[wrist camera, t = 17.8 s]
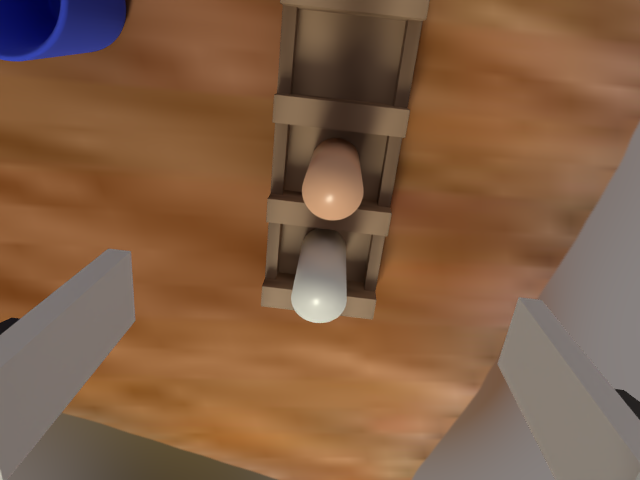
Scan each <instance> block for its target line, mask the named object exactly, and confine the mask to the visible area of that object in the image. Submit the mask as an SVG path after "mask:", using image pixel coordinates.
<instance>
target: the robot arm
mask: <svg viewBox="0 0 640 480" xmlns="http://www.w3.org/2000/svg"><path fill="white" fill-rule="evenodd" d="M134 322H135V309H134V293H133V278H132V262H131V251H124V250H115V249H107V250H106V251H105V252H104V253H102V254H101V255H100V256H99V257H97V258H96V259H95V260H94V261H92V262H91V263H90V264H89V265H87V266H86V267H85V268H83V269H82V270H81V271H80V272H78V273H77V274H76V275H75V276H73V277H72V278H71V279H70V280H68V281H67V282H66V283H65V284H63V285H62V286H61V287H60V288H58V289H57V290H56V291H55V292H53V293H52V294H51V295H50V296H48V297H47V298H46V299H45V300H43V301H42V302H41V303H40V304H38V305H37V306H36V307H35V308H33V309H32V310H31V311H30V312H28V313H27V314H26V315H25V316H23V317H22V318H21V319H18V318H10V319H8V320H6V321H3V322H1V323H0V480H8V478H9V477H10V476H11V475H12V473H13V472H14V471H15V470H16V468H17V467H18V466H19V465H20V464H21V462H22V461H23V460H24V459H25V457H26V456H27V455H28V454H29V452H30V451H31V450H32V449H33V447H34V446H35V445H36V443H37V442H38V441H39V440H40V439H41V437H42V436H43V435H44V434H45V432H46V431H47V430H48V429H49V427H50V426H51V425H52V424H53V422H54V421H55V420H56V419H57V417H58V416H59V415H60V414H61V412H62V411H63V410H64V409H65V408H66V406H67V405H68V404H69V403H70V401H71V400H72V399H73V398H74V396H75V395H76V394H77V393H78V391H79V390H80V389H81V388H82V386H83V385H84V384H85V383H86V381H87V380H88V379H89V378H90V376H91V375H92V374H93V373H94V371H95V370H96V369H97V368H98V366H99V365H100V364H101V363H102V361H103V360H104V359H105V358H106V357H107V355H108V354H109V353H110V352H111V350H112V349H113V348H114V347H115V345H116V344H117V343H118V342H119V340H120V339H121V338H122V337H123V335H124V334H125V333H126V332H127V330H128V329H129V328H130V327H131V325H132V324H133V323H134ZM498 366H499V368H500V370H501V372H502V374H503V376H504V378H505V380H506V382H507V384H508V386H509V388H510V390H511V392H512V394H513V396H514V398H515V400H516V402H517V404H518V406H519V408H520V410H521V412H522V414H523V416H524V418H525V420H526V422H527V424H528V426H529V428H530V430H531V432H532V434H533V436H534V438H535V440H536V442H537V444H538V446H539V448H540V450H541V452H542V454H543V456H544V458H545V460H546V462H547V464H548V466H549V468H550V470H551V472H552V474H553V476H554V478H555V480H640V402H639V401H638V400H636V399H635V398H634V397H632V396H631V395H629V394H628V393H627V392H626V391H624V390H618V389H614V388H613V387H612V386H611V384H610V383H609V382H608V381H607V379H606V378H605V377H604V376H603V375H602V373H601V372H600V371H599V370H598V369H597V367H596V366H595V365H594V364H593V362H592V361H591V360H590V359H589V358H588V356H587V355H586V354H585V353H584V351H583V350H582V349H581V348H580V346H579V345H578V344H577V343H576V342H575V340H574V339H573V338H572V337H571V336H570V334H569V333H568V332H567V331H566V330H565V328H564V327H563V326H562V324H561V323H560V322H559V321H558V319H557V318H556V317H555V316H554V315H553V313H552V312H551V311H550V310H549V309H548V307H547V306H546V305H545V304H544V302H543V301H542V300H536V299H528V298H520V297H519V299H518V302H517V305H516V308H515V311H514V314H513V317H512V321H511V324H510V327H509V330H508V333H507V336H506V339H505V343H504V346H503V349H502V352H501V355H500V358H499V361H498Z"/></svg>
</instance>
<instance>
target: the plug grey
mask: <svg viewBox="0 0 640 480" xmlns="http://www.w3.org/2000/svg"><path fill="white" fill-rule="evenodd" d="M291 302H292V305H293V308H294V310H295V311H296V313H297V314H298V315H299V316H301V317H302V318H304V319H305V320H307V321H310V322H314V323H325V322H329V321H332V320H334V319H336V318H337V317H338V316H340V315H341V313H342V312H343V311H344V309H345V306H346V302H347V288H346V244H345V241H344V239H343V237H342V236H341V235H340V234H339V233H338V232H337V231H335V230H330V229H321V228H317V229H314V230H312V231H310V232H309V233H308V234H307V235H306V236H305V238H304V240H303V243H302V247H301V252H300V257H299V261H298V266H297V271H296V275H295V280H294V285H293V290H292V294H291Z"/></svg>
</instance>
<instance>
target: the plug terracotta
mask: <svg viewBox="0 0 640 480" xmlns="http://www.w3.org/2000/svg"><path fill="white" fill-rule="evenodd" d="M363 191H364V190H363V182H362V175H361V168H360V161H359V155H358V152H357V150H356V148H355V147H354V146H353V145H352V144H351V143H350V142H348V141H347V140H345V139H342V138H329V139H326V140H324V141H323V142H321V143H320V144H319V145H318V146H317V147H316V149H315V150H314V152H313V155H312V158H311V161H310V164H309V167H308V170H307V173H306V175H305V178H304V181H303V185H302V196H303V200H304V202H305V204H306V206H307V207H308V209H309V210H310V211H311V212H312V213H313V214H314V215H316V216H318V217H320V218H322V219H325V220H340V219H344V218H346V217H348V216H350V215H351V214H352V213H354V212H355V211H356V210H357V208H358V207H359V205H360V204H361V201H362V198H363Z"/></svg>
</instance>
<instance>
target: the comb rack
mask: <svg viewBox="0 0 640 480" xmlns="http://www.w3.org/2000/svg"><path fill="white" fill-rule="evenodd" d="M280 3H281V4H282V5H283V12H282V27H281V42H280V58H279V73H278V88H277V94H275V95H274V107H273V123H275V134H274V150H273V165H272V180H271V194H270V196H269V197H268V202H267V218H266V222H269V226H268V242H267V257H266V273H265V280H264V283H263V286H262V298H261V306H264V307H273V308H281V309H289V310H294V308H293V305H292V302H291V294H292V290H293V285H294V280H295V275H296V271H297V266H298V261H299V257H300V252H301V247H302V243H303V240H304V238H305V236H306V235H307V234H308V233H309V232H310V231H312V230H314V229H317V228H321V229H330V230H335V231H337V232H338V233H339V234H340V235H341V236H342V237H343V239H344V241H345V244H346V288H347V302H346V306H345V309H344V311H343V312H342V313H341V315H340V316H348V317H356V318H365V319H373V316H374V310H375V305H376V294H375V290H376V284H377V279H378V273H379V267H380V261H381V256H382V250H383V244H384V239H385V236H388V231H389V226H390V220H391V214H392V213H391V209H390V204H391V199H392V193H393V187H394V181H395V176H396V170H397V164H398V159H399V153H400V147H401V141H402V138H405V136H406V130H407V124H408V119H409V113H410V110H409V109H408V108H407V107H408V101H409V96H410V90H411V84H412V79H413V73H414V67H415V61H416V56H417V50H418V44H419V38H420V33H421V27H422V21H424V20H426V17H427V12H428V6H429V0H280ZM329 138H342V139H345V140H347V141H348V142H350V143H351V144H352V145H353V146H354V147H355V148H356V150H357V152H358V155H359V161H360V168H361V175H362V182H363V190H364V191H363V198H362V201H361V204H360V205H359V207H358V208H357V210H356V211H355V212H354V213H352V214H351V215H350V216H348V217H346V218H344V219H340V220H325V219H322V218H320V217H318V216H316V215H314V214H313V213H312V212H311V211H310V210H309V209H308V207H307V206H306V204H305V202H304V200H303V196H302V185H303V181H304V178H305V175H306V173H307V170H308V167H309V164H310V161H311V158H312V155H313V152H314V150H315V149H316V147H317V146H318V145H319V144H320V143H321V142H323V141H324V140H326V139H329Z"/></svg>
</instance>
